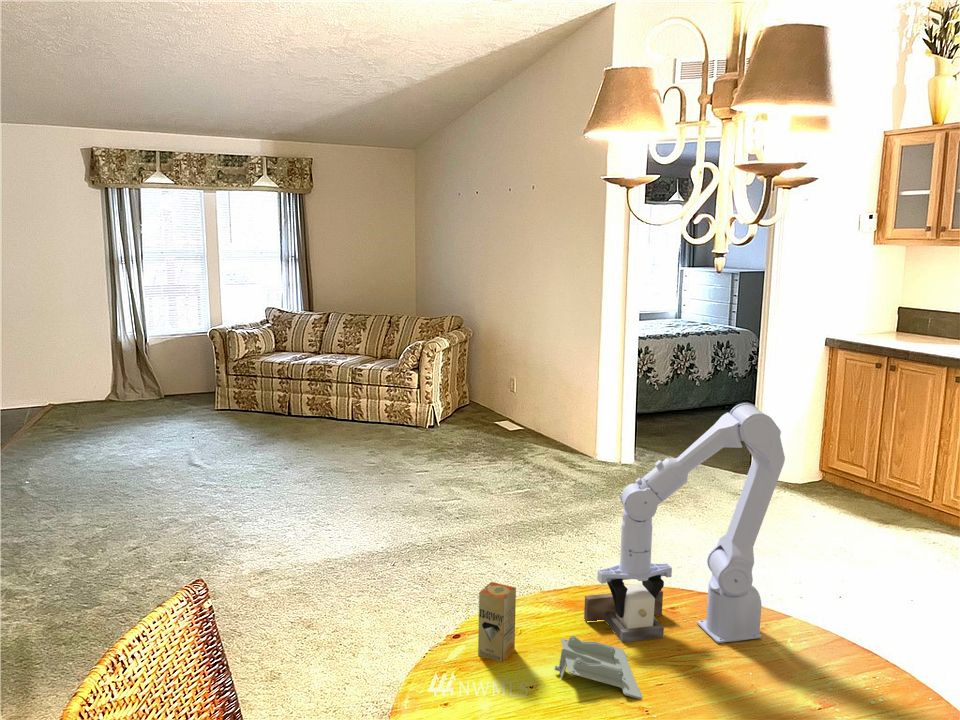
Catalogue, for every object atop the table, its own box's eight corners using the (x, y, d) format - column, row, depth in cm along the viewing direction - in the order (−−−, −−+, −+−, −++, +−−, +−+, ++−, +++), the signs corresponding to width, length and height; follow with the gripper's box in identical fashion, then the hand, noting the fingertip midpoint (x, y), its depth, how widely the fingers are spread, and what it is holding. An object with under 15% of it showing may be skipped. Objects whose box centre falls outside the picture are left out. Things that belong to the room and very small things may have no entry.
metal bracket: (569, 667, 125) (558, 622, 140) (558, 699, 126) (548, 650, 141) (652, 690, 126) (632, 643, 141) (640, 722, 127) (622, 671, 142)
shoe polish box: (490, 642, 143) (491, 581, 141) (514, 649, 141) (515, 587, 139) (478, 655, 139) (479, 592, 137) (502, 662, 136) (504, 598, 135)
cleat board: (658, 611, 156) (659, 588, 155) (681, 635, 146) (683, 610, 146) (584, 619, 152) (584, 595, 151) (603, 644, 143) (604, 619, 142)
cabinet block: (638, 615, 152) (641, 583, 151) (654, 634, 146) (656, 600, 144) (615, 618, 151) (617, 585, 149) (629, 637, 144) (632, 603, 143)
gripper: (608, 558, 141) (605, 627, 143) (680, 552, 144) (677, 619, 147) (594, 543, 148) (591, 610, 150) (663, 538, 151) (660, 602, 153)
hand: (632, 613), depth 149 cm, fingers closed on cabinet block, 5 cm apart
